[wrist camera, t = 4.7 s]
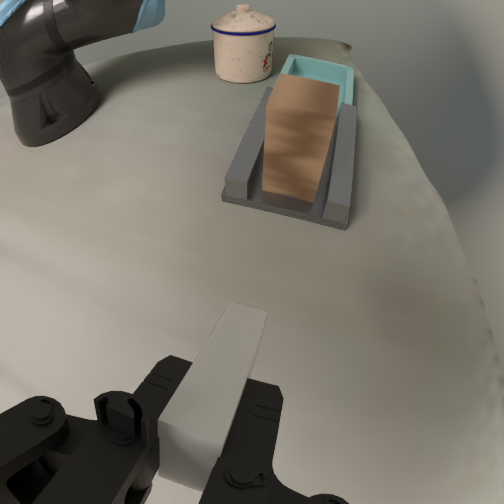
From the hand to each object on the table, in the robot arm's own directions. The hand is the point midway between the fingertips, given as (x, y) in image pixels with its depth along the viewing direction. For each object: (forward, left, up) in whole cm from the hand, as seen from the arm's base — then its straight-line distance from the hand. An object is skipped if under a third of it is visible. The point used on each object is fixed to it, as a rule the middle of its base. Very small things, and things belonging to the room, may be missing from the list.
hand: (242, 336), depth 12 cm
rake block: (0, +18, -11) cm, 21 cm away
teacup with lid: (-12, +41, -12) cm, 45 cm away
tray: (0, +37, -12) cm, 38 cm away
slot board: (0, +22, -12) cm, 25 cm away
